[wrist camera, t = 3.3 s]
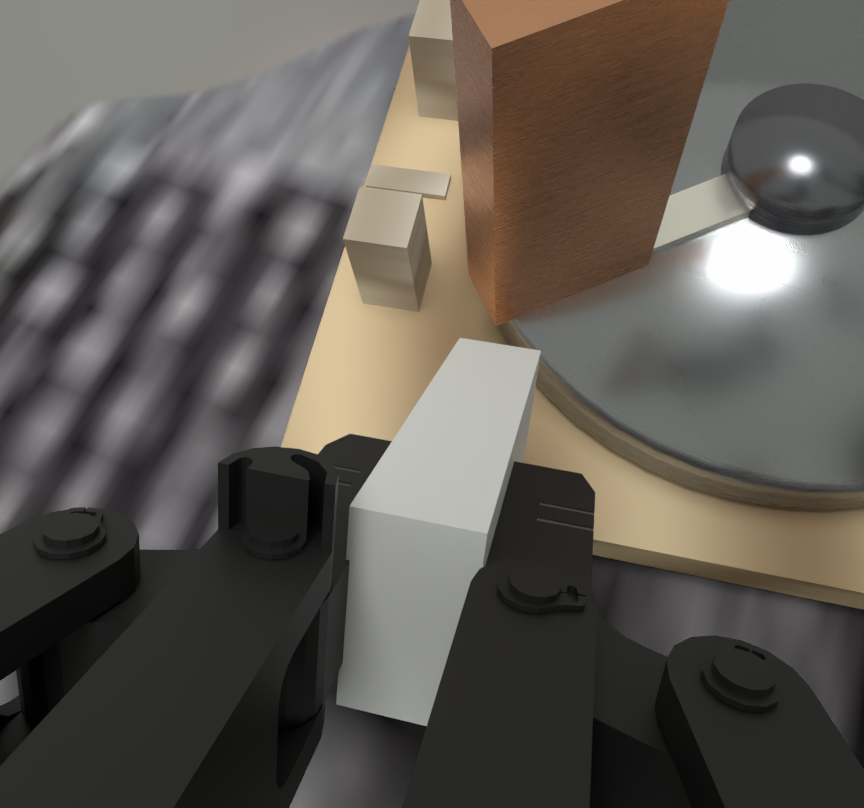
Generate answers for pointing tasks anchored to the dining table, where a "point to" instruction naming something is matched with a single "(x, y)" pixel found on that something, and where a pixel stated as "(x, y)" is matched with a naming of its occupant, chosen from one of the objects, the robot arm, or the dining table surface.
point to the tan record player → (468, 318)
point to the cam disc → (678, 228)
